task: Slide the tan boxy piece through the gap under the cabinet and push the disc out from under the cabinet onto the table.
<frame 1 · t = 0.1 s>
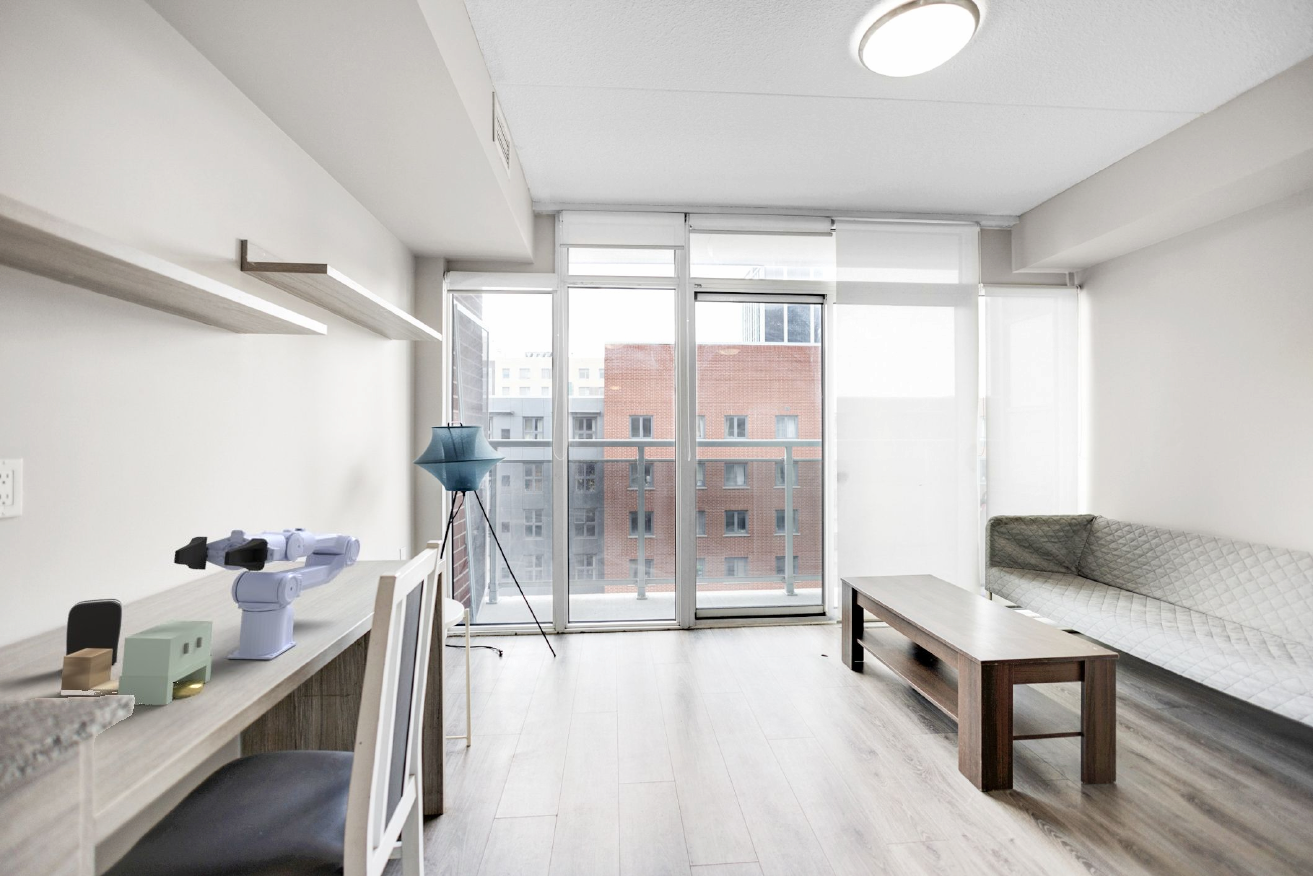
hand: (201, 557, 95), 22 cm above the table, tool horizontal, fingers open, 7 cm apart
cabinet: (166, 691, 94), on the table
tan boxy piece: (85, 690, 93), on the table
disc: (185, 694, 94), on the table
battery charger: (91, 666, 103), on the table
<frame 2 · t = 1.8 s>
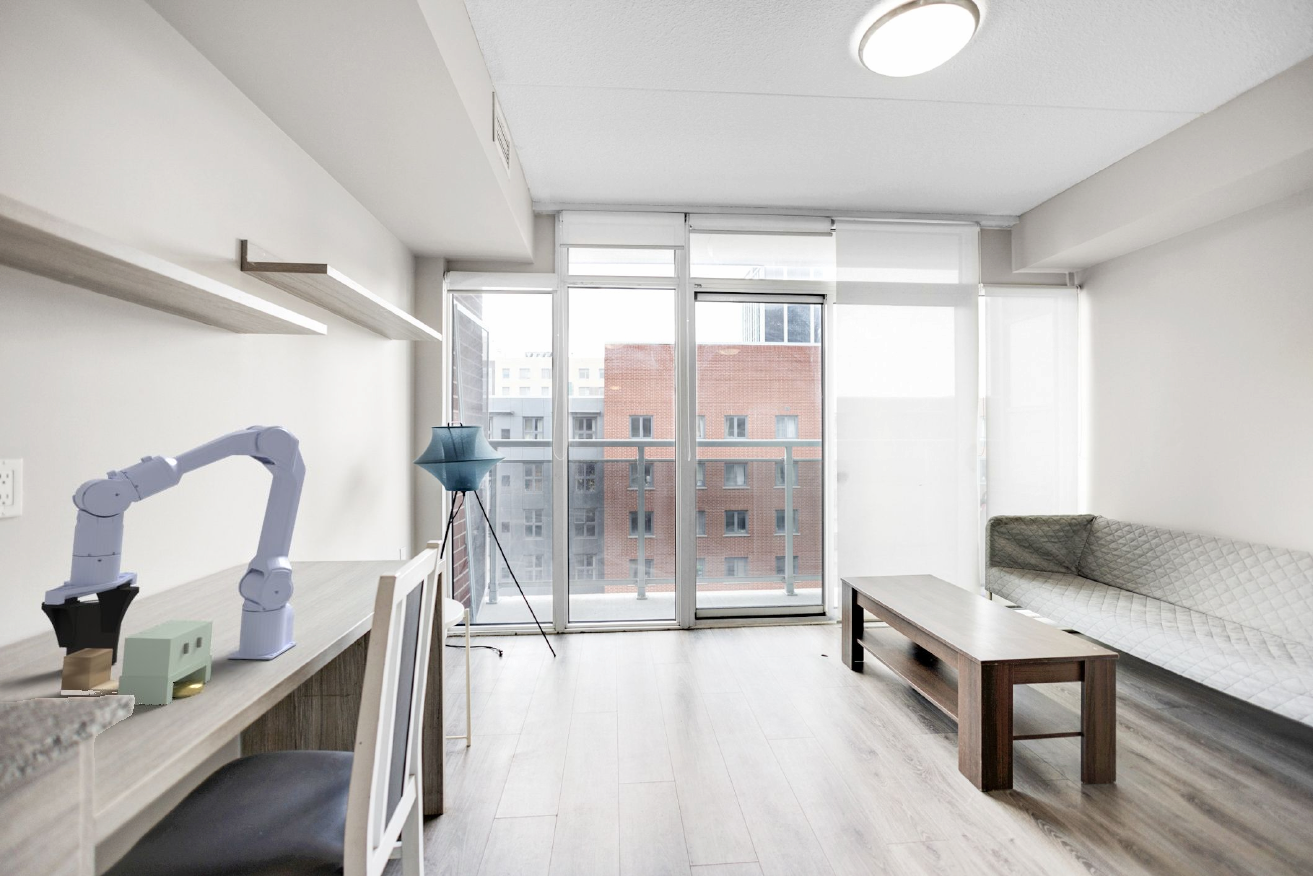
hand: (89, 639, 93), 8 cm above the table, tool pointing down, fingers open, 7 cm apart
nothing on the table moved.
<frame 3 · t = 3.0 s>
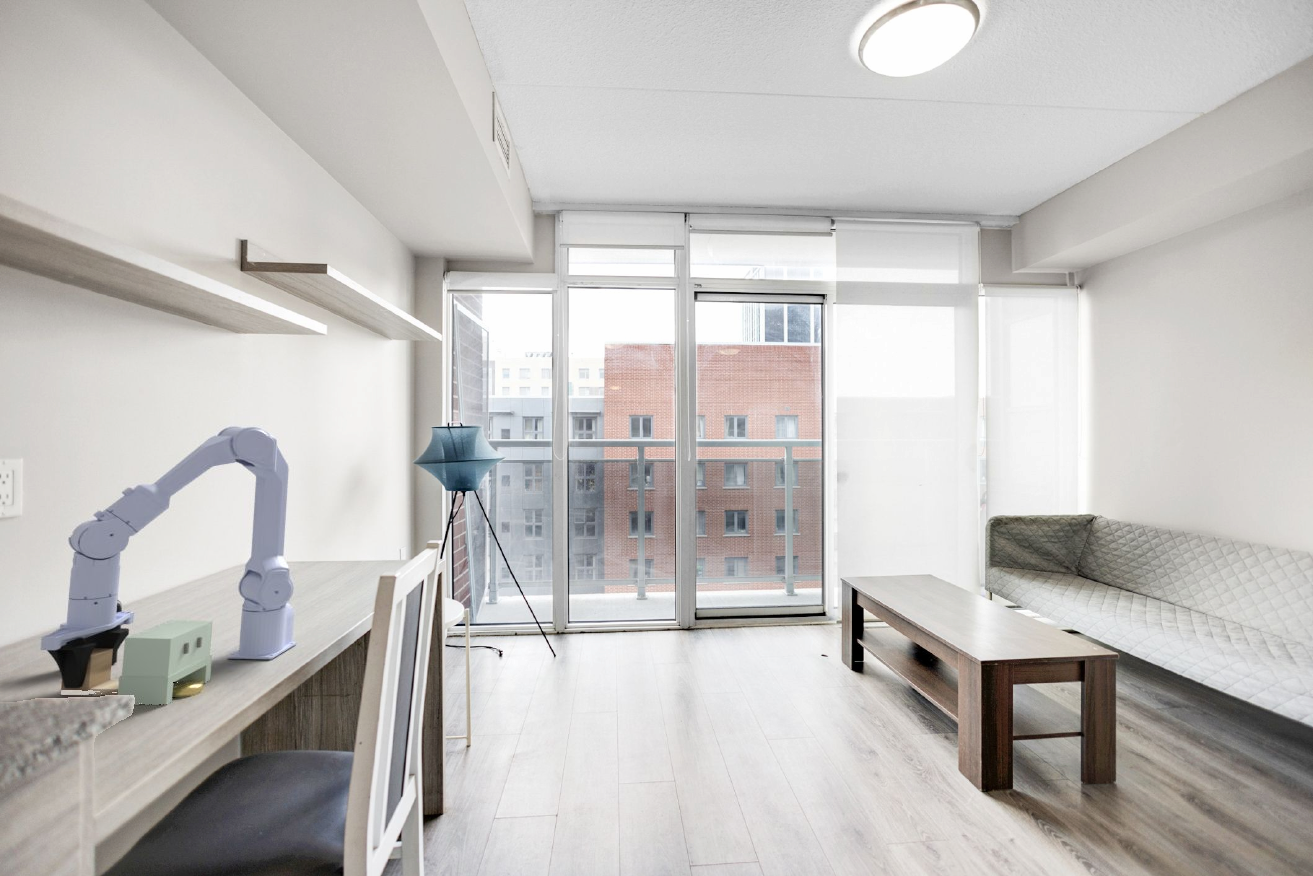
hand: (86, 681, 93), 1 cm above the table, tool pointing down, fingers closed on tan boxy piece, 4 cm apart
tan boxy piece: (85, 690, 93), on the table, touching gripper
everything else where it was.
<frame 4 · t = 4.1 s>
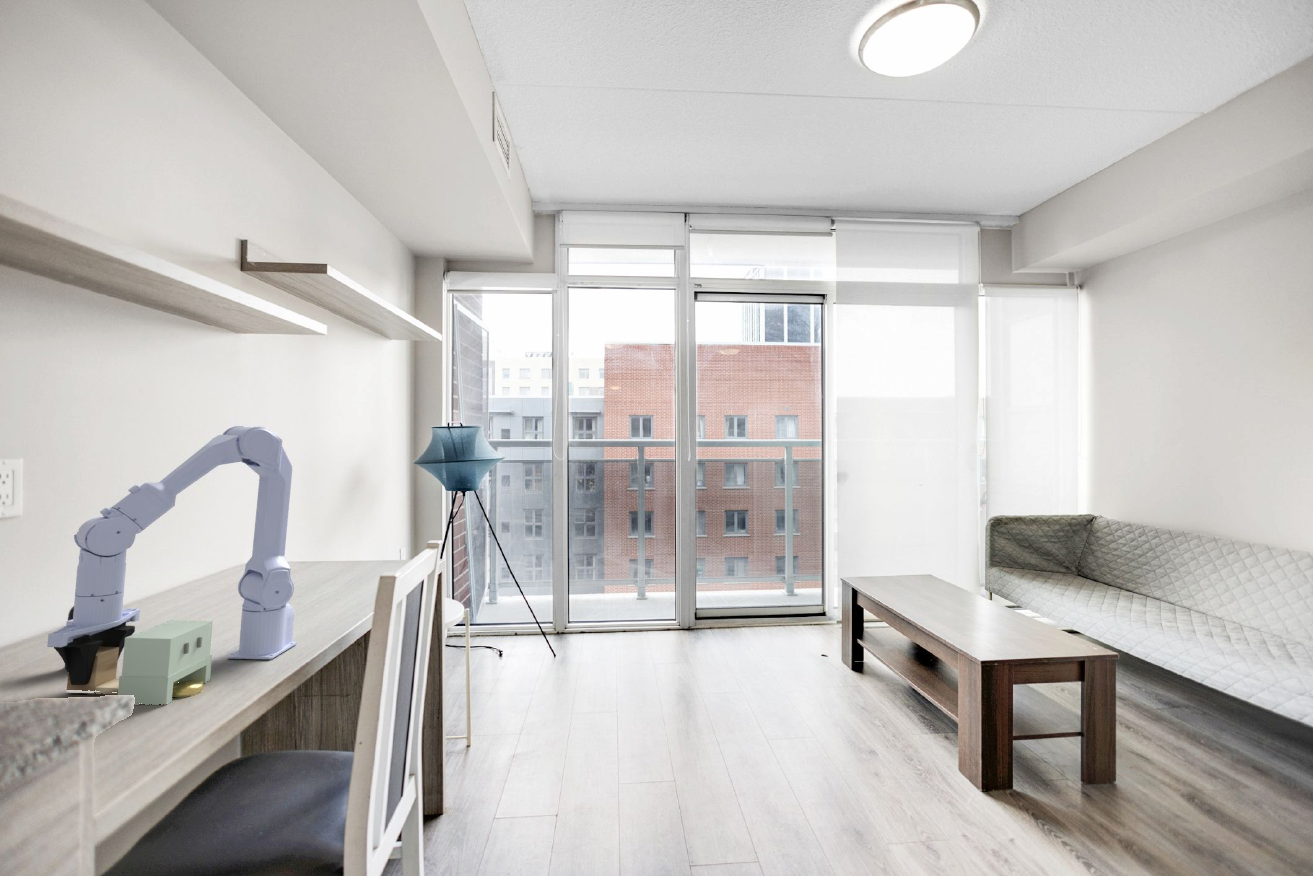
hand: (92, 678, 93), 2 cm above the table, tool pointing down, fingers closed on tan boxy piece, 4 cm apart
tan boxy piece: (91, 688, 93), on the table, touching gripper
everything else where it was.
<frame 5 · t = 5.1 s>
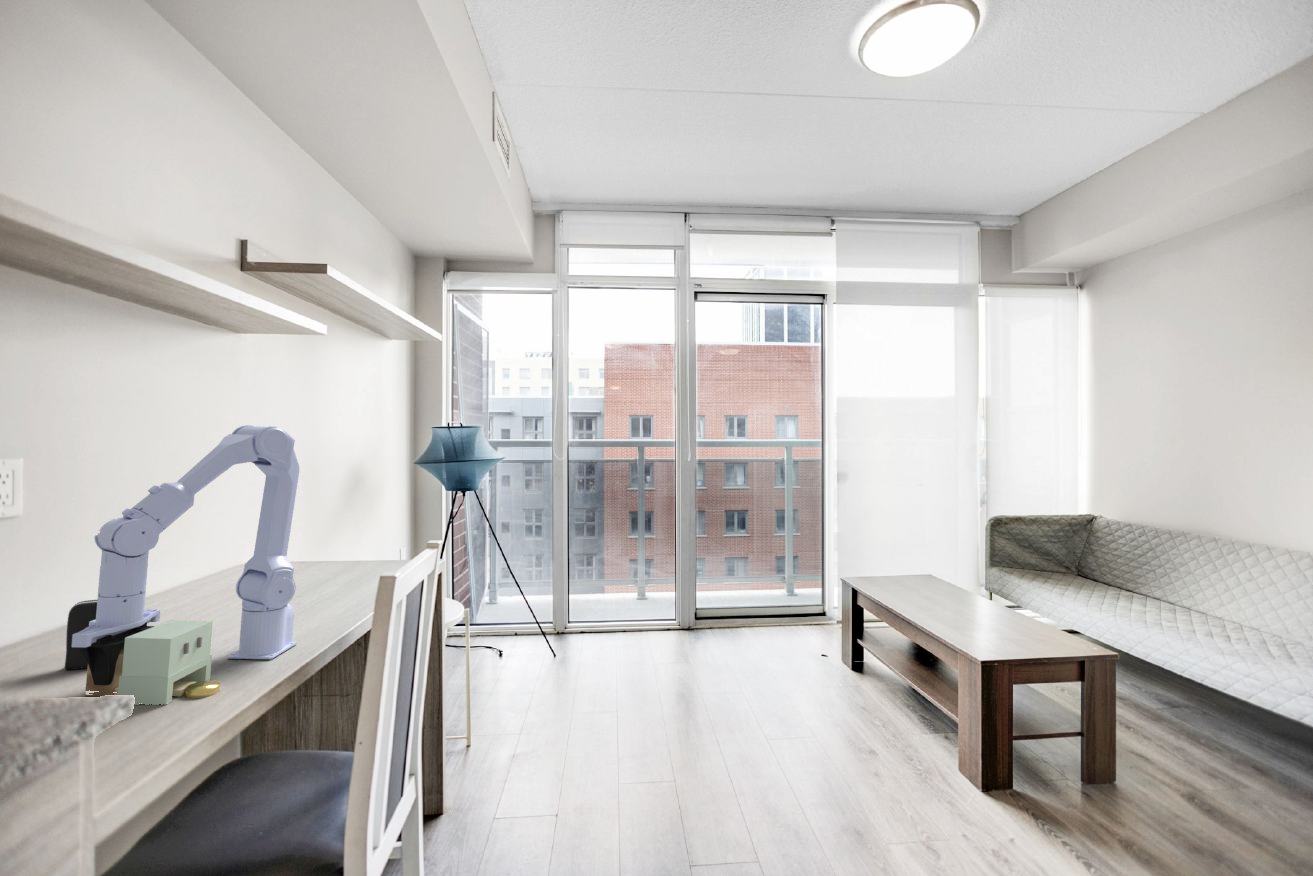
hand: (115, 678, 94), 2 cm above the table, tool pointing down, fingers closed on tan boxy piece, 4 cm apart
tan boxy piece: (109, 690, 93), on the table, touching gripper
disc: (202, 694, 95), on the table
everything else where it was.
when the fingers open (2 cm above the table, at t = 6.1 s): tan boxy piece stays where it is, on the table.
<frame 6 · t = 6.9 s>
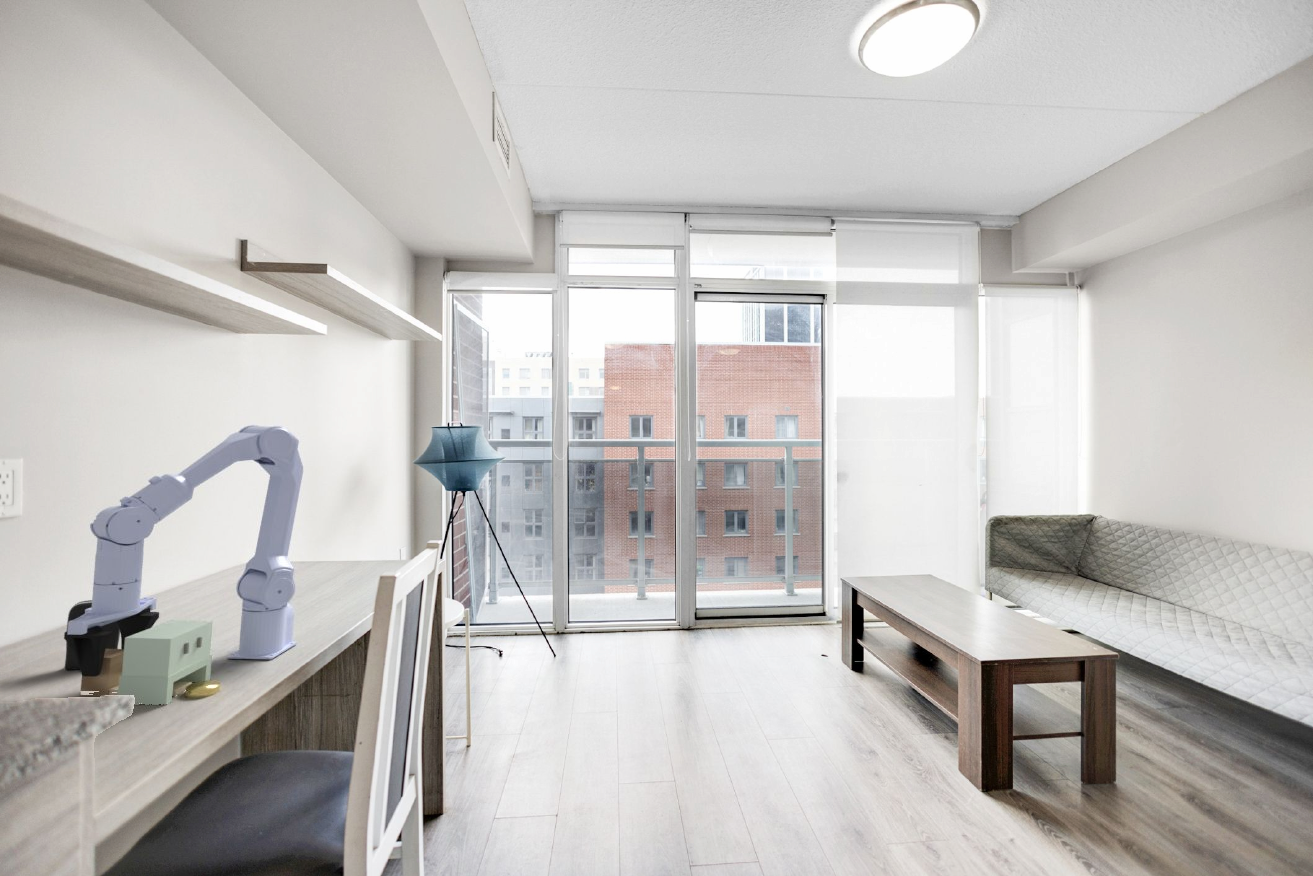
hand: (111, 666, 94), 4 cm above the table, tool pointing down, fingers open, 7 cm apart
tan boxy piece: (104, 691, 93), on the table
everything else where it was.
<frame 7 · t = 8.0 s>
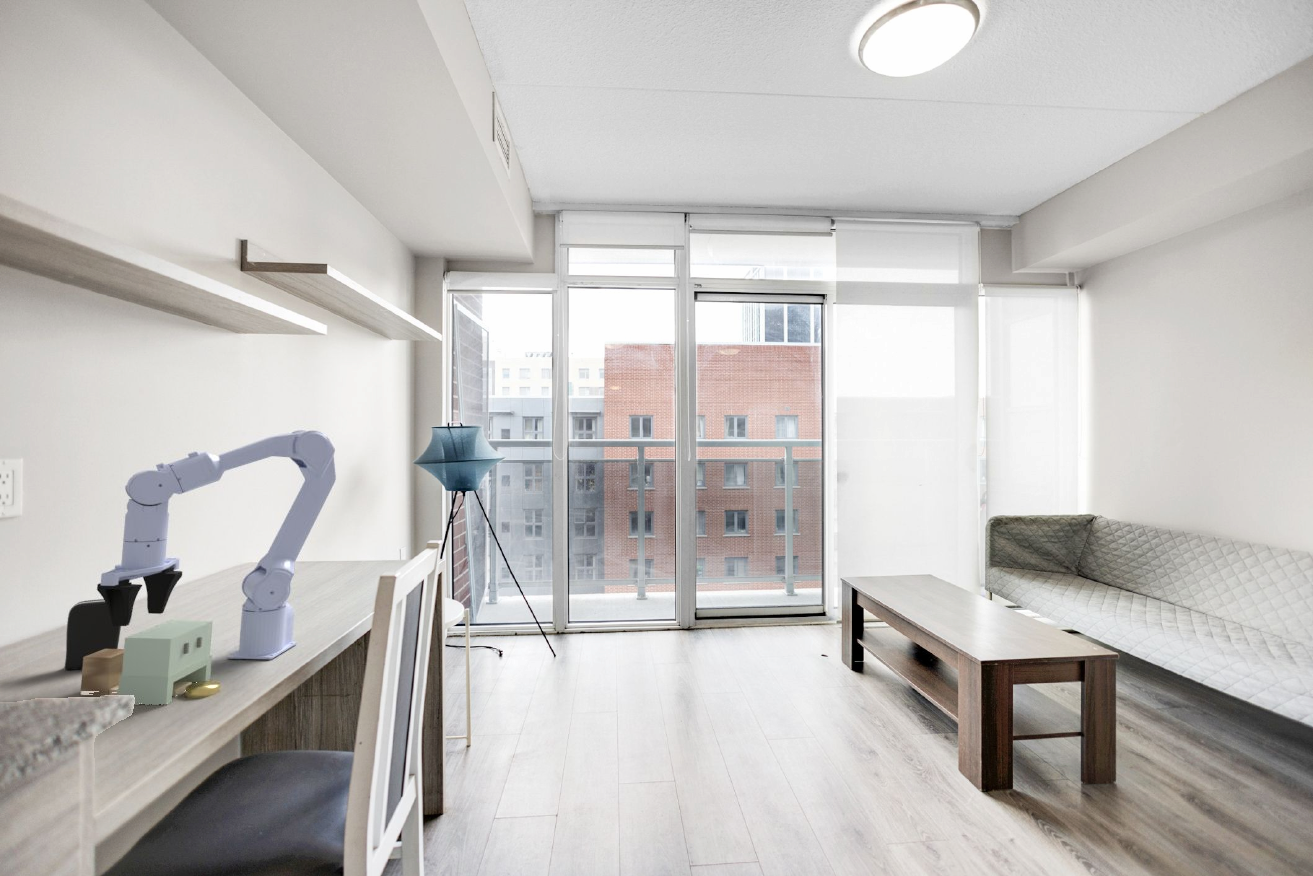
hand: (138, 619, 101), 9 cm above the table, tool pointing down, fingers open, 7 cm apart
nothing on the table moved.
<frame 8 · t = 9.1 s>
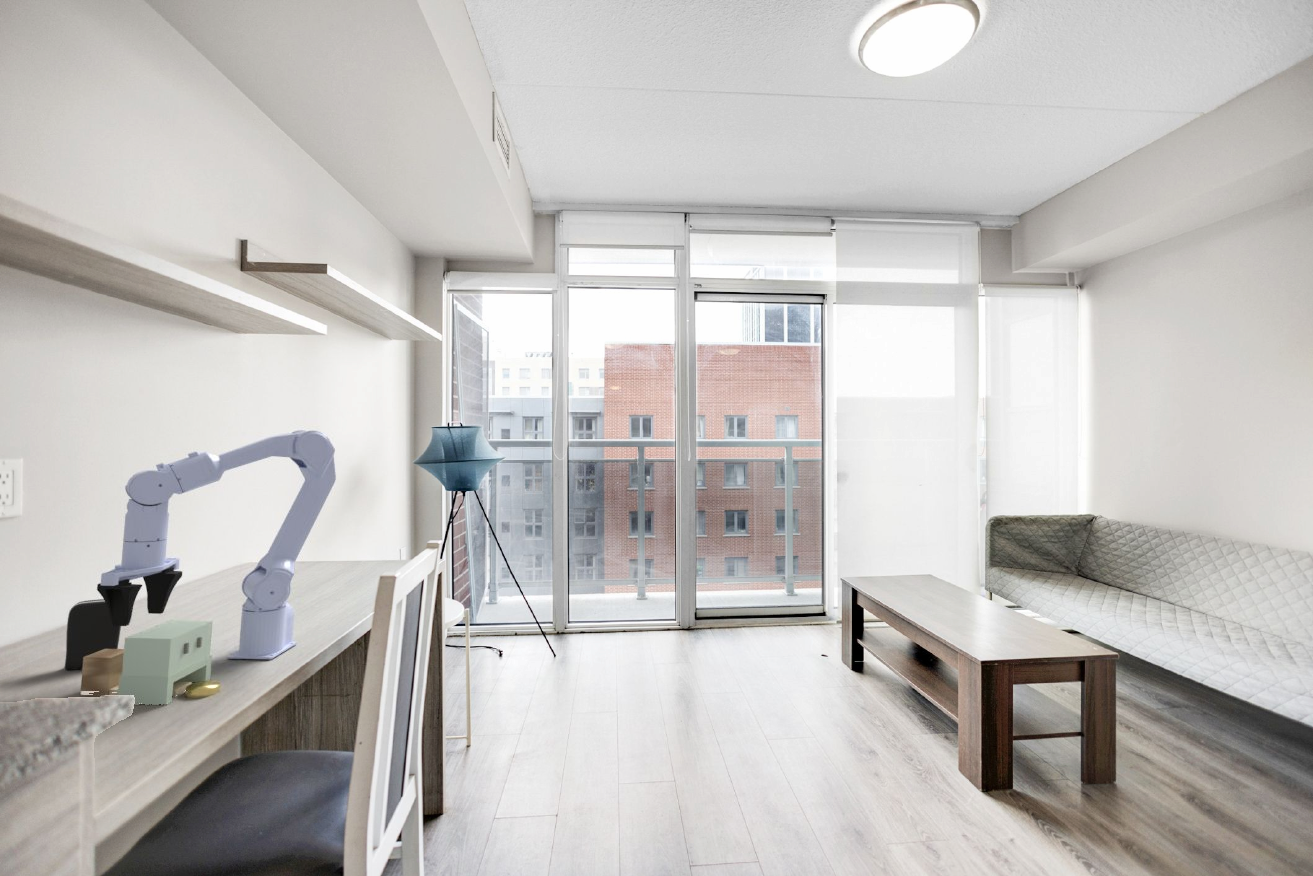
hand: (138, 619, 101), 9 cm above the table, tool pointing down, fingers open, 7 cm apart
nothing on the table moved.
at the end: disc inside the target area (3.4 cm from its centre), on the table; the gripper is holding nothing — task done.
